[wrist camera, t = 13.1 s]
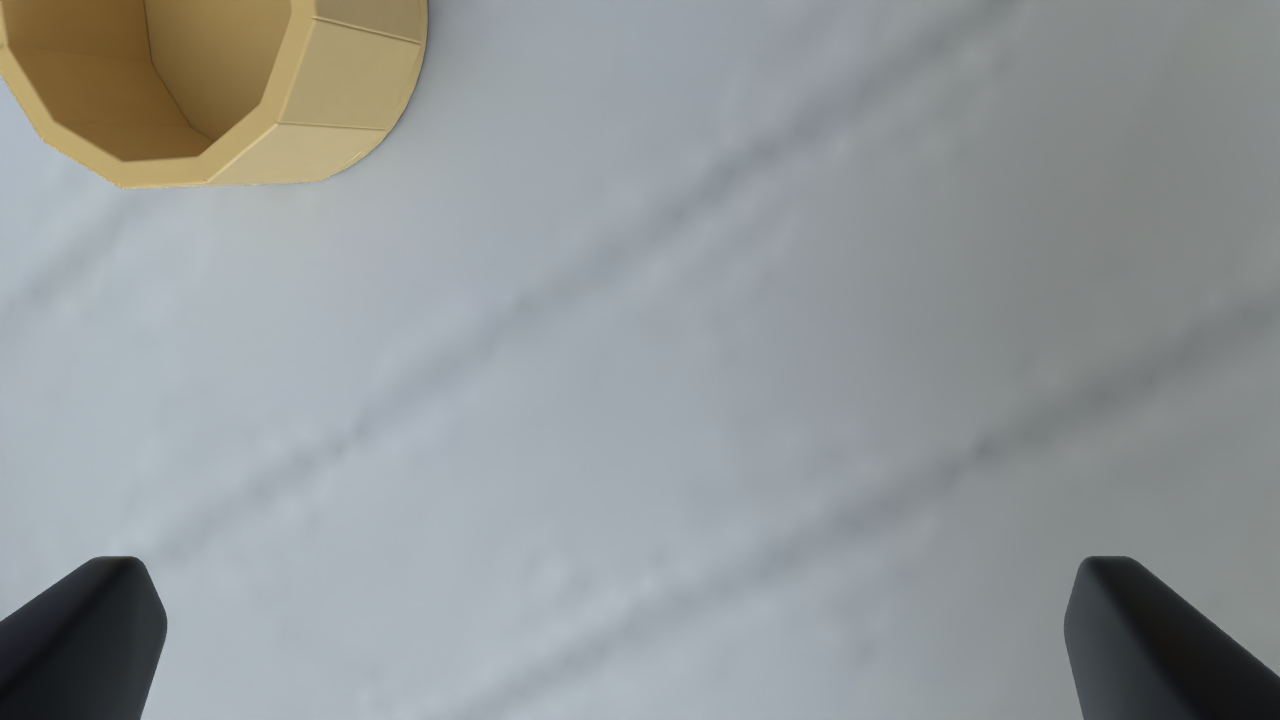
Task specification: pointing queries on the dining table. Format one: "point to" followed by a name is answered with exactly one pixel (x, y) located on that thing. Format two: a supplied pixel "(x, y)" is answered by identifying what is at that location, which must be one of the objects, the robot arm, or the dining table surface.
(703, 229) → the dining table surface
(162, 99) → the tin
